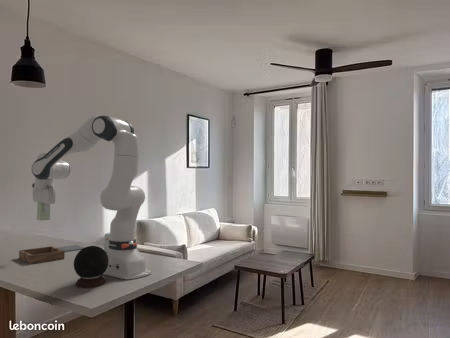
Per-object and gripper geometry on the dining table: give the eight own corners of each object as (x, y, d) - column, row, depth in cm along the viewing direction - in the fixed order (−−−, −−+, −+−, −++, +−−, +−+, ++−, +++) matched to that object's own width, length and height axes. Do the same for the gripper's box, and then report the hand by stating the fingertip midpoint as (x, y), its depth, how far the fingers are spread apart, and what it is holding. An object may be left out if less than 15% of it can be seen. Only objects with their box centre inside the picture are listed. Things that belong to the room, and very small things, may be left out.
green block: (49, 219, 176) (50, 202, 176) (40, 220, 172) (41, 202, 172) (46, 219, 179) (46, 201, 179) (36, 219, 175) (37, 202, 175)
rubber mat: (85, 248, 200) (85, 247, 200) (65, 251, 191) (65, 250, 191) (76, 245, 208) (76, 244, 208) (56, 248, 199) (56, 247, 199)
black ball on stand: (111, 278, 144) (113, 243, 144) (102, 288, 131) (103, 249, 131) (80, 278, 143) (81, 242, 144) (67, 288, 130) (68, 249, 131)
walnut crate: (64, 258, 176) (64, 250, 176) (30, 264, 164) (31, 255, 164) (51, 253, 186) (51, 246, 186) (19, 258, 174) (19, 250, 174)
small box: (121, 250, 198) (122, 232, 198) (117, 252, 192) (118, 234, 192) (108, 250, 198) (108, 232, 199) (103, 252, 193) (104, 233, 193)
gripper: (59, 185, 171) (58, 213, 171) (43, 184, 185) (42, 209, 184) (46, 185, 167) (45, 213, 166) (30, 184, 180) (29, 210, 180)
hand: (43, 211), depth 175 cm, fingers closed on green block, 4 cm apart
